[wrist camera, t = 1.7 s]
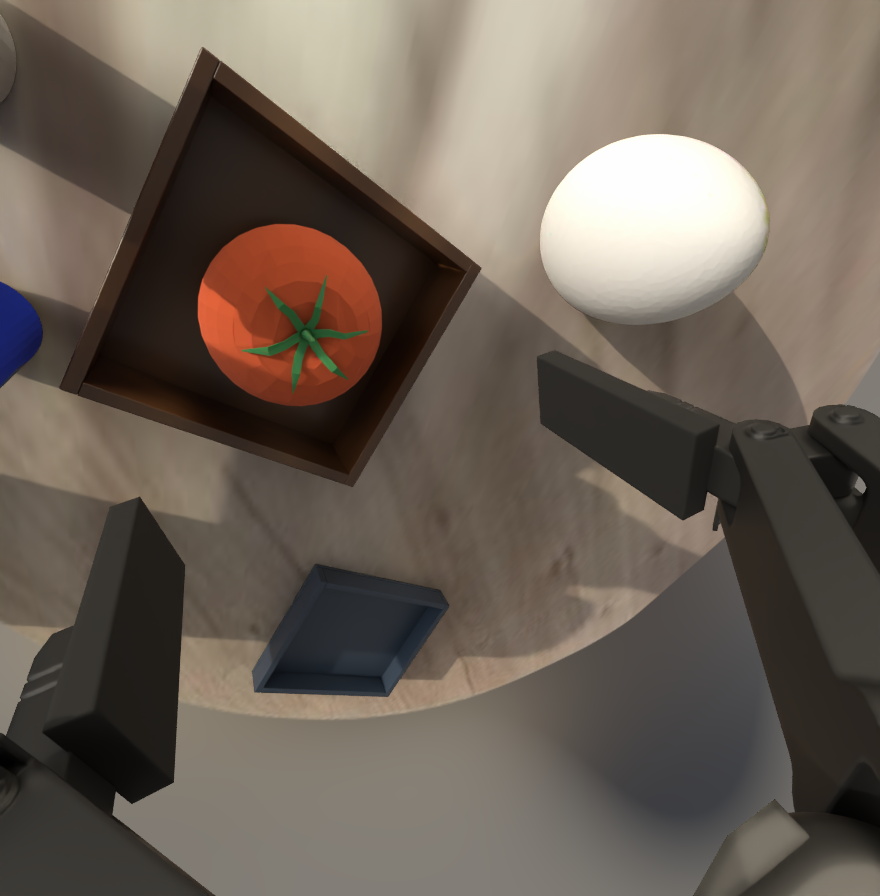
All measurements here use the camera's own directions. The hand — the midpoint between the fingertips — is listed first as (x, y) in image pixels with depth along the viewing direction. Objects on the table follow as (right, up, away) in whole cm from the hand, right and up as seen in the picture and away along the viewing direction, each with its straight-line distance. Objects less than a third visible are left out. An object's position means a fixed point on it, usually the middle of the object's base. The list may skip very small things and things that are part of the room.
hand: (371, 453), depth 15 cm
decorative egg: (+14, +18, +23) cm, 33 cm away
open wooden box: (-8, +10, +16) cm, 21 cm away
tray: (-7, -18, +33) cm, 38 cm away
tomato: (-8, +10, +16) cm, 21 cm away
